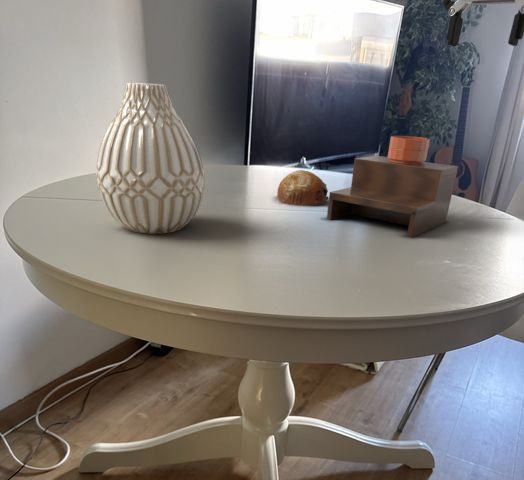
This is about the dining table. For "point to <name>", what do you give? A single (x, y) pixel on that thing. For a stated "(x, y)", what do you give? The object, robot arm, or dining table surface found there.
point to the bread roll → (302, 189)
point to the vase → (149, 164)
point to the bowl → (408, 149)
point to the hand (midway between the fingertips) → (481, 45)
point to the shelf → (396, 193)
